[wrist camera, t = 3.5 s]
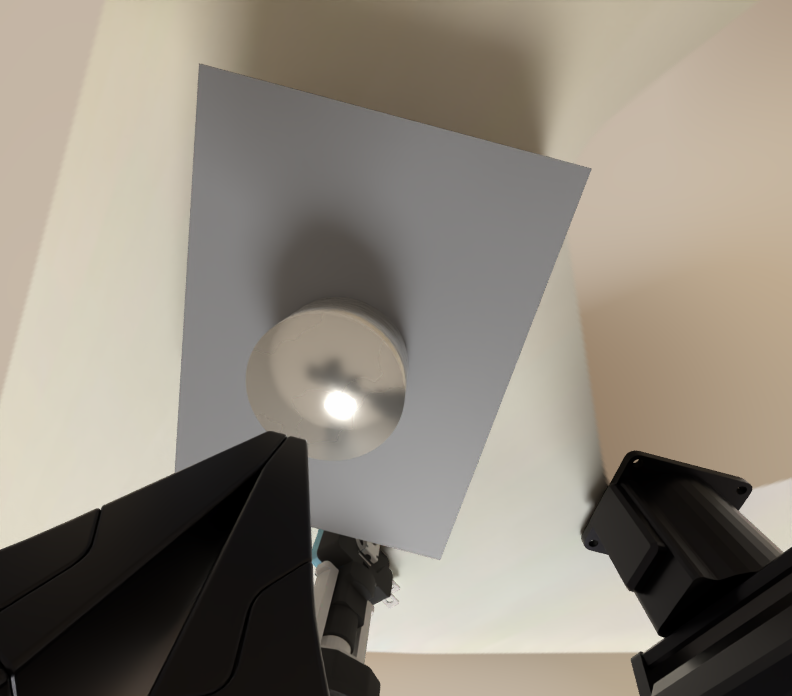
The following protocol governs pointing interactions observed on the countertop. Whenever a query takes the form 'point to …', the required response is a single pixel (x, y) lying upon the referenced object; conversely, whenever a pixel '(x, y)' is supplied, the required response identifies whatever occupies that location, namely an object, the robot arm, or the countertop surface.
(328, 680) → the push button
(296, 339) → the knob
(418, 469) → the panel
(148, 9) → the countertop surface
